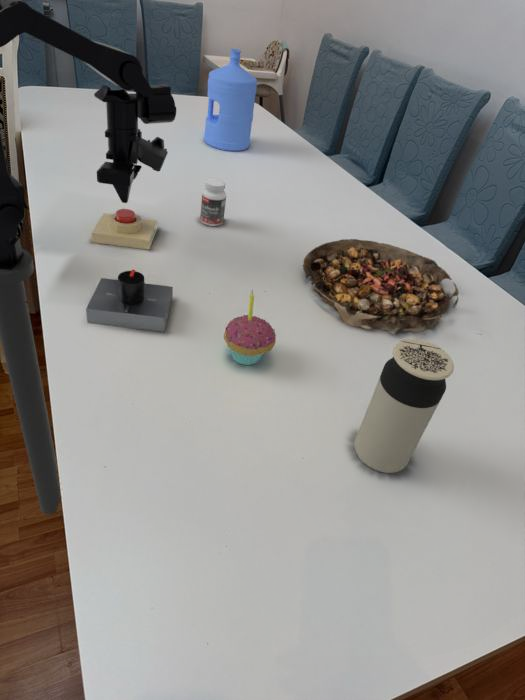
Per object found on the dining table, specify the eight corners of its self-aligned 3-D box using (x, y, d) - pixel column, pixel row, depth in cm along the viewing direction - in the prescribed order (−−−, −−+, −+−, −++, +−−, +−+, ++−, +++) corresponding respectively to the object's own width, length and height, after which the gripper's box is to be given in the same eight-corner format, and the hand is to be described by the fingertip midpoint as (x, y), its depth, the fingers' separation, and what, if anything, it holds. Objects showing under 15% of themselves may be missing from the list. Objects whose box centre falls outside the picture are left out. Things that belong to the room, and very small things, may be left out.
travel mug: (406, 481, 68) (457, 387, 57) (350, 464, 69) (389, 367, 58) (408, 440, 74) (455, 347, 63) (357, 424, 75) (393, 330, 64)
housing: (92, 242, 106) (91, 224, 103) (104, 222, 113) (103, 205, 111) (149, 249, 107) (149, 232, 104) (157, 229, 115) (157, 212, 112)
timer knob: (142, 305, 86) (141, 284, 83) (116, 302, 85) (115, 281, 83) (146, 291, 89) (146, 270, 86) (121, 288, 89) (120, 267, 86)
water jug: (251, 141, 176) (263, 51, 159) (246, 155, 164) (257, 58, 146) (208, 133, 176) (215, 42, 159) (199, 146, 164) (205, 49, 146)
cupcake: (215, 343, 85) (222, 284, 78) (261, 338, 88) (271, 280, 81) (230, 376, 79) (239, 315, 72) (279, 369, 82) (292, 310, 75)
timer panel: (87, 323, 85) (85, 308, 83) (102, 291, 92) (101, 277, 90) (164, 332, 86) (164, 317, 84) (172, 300, 93) (172, 285, 92)
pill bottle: (196, 223, 120) (199, 183, 114) (204, 214, 124) (207, 175, 118) (219, 228, 119) (223, 188, 113) (226, 219, 124) (230, 180, 118)
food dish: (406, 364, 90) (419, 330, 85) (268, 286, 105) (273, 254, 100) (479, 294, 112) (493, 264, 107) (356, 238, 127) (363, 210, 122)
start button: (114, 223, 106) (113, 215, 105) (118, 215, 109) (118, 207, 108) (133, 225, 106) (132, 218, 105) (136, 217, 110) (136, 210, 109)
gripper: (156, 146, 89) (155, 226, 99) (171, 118, 104) (169, 191, 113) (93, 136, 88) (98, 218, 98) (117, 110, 103) (120, 183, 112)
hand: (124, 202), depth 105 cm, fingers closed
